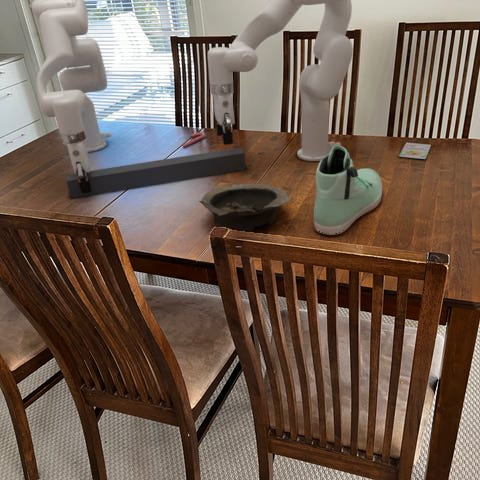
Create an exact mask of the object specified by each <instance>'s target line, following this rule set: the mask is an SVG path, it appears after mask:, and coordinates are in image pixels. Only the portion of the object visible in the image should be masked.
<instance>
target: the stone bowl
mask: <svg viewBox="0 0 480 480" xmlns="http://www.w3.org/2000/svg"><path fill="white" fill-rule="evenodd" d="M288 201H290V197H289V195H288V194H287V192H286V191H285V190H284V189H282V188H281V187H278V186H273V185H270V184H262V183H241V184H237V183H236V184H229V185H225V186H221V187H218V188H213V189H211V190H209V191H208V192H206V193H205V194H204V195H203V197H202V198H201V200H198V202H199V203H200V204H201V205H202V206H204V208H206V209H207V210H208V211H210V212H211V213H212V216H213V220H214V222H215V223H216V224H218V225H219V227H220V228H221V227H226V228H229V229H232V230H237V231H245V232H249V233H252V232H254V230H255V228H256V227H263V225H271V224H272V223H273V222H274V220H275V216H276V213H277V209H278V208H280V207H281V206H284V205H285V204H287V202H288Z"/></svg>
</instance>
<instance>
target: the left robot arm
mask: <svg viewBox="0 0 480 480" xmlns="http://www.w3.org/2000/svg"><path fill="white" fill-rule="evenodd" d="M31 10H32V13H33V15H34V17H35V18H36V20H37V21H38V22H39V28H40V33H41V39H42V43H43V50H44V56H45V61H44V63H43V64H42V65H41V67H40V69H39V71H38V73H37V76H36V81H35V82H36V83H35V87H36V93H37V100H38V104H39V108H40V111H41V113H42V114H43V116H45V117H47V118H55V121H56V124H57V129H58V131H59V135H60V138H61V139H60V140H61V142H62V144H63V146H64V145H65V146H66V147H67V151H68V155H69V159H70V163H71V167H72V169H73V172H74V173H75V174H77V175H78V179H79V185H80V188H81V192H82V193H89V192H92V190H91V186H90V182H89V180H88V178H87V173H86V172H88V173H89V172H90V171H92V162H91V159H90V156H89V153H91V152H96V151H100V150H102V149H104V148H105V147H106V146H107V141H106V139H108V138H110V137H112V133H111V132H110V131H108V132H101V130H100V127H99V122H98V118H97V113H96V109H95V105H94V102H93V101H92V99H91V98H89V96H87V95H86V94H88V93H97V92H103V91H105V90H106V89H107V88H108V78H107V74H106V69H105V65H104V60H103V55H102V52H101V51H102V50H101V48H100V46H99V43H98V42H97V40H95V39H94V38H91V37H86V38H77V37H80V36H85V35H87V33H88V31H89V15H88V7H87V4H86V1H85V0H33V1H32V3H31ZM58 73H59V76H58V77H59V83H60V86H61V88H62V90H58V91H49V92H48V84H49V81H50V80H51V79H52V78H53V77H54V76H55V75H57V74H58ZM83 174H85V176H83Z"/></svg>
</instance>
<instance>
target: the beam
mask: <svg viewBox="0 0 480 480" xmlns="http://www.w3.org/2000/svg"><path fill="white" fill-rule="evenodd" d="M246 169H247V168H246V155H245V151H244V150H243V149H242V148H241V147H235V148H229V149H228V148H227V149H222V150H215V151H209V152H201V153H197V154H190V155H182V156H176V157H171V158H170V157H169V158H165V159H158V160H157V159H156V160H152V161H145V162H139V163H138V162H137V163H132V164H125V165H120V166H119V165H118V166H114V167H106V168H101V169H94V170H91V171H90V172H89V173H88V172H86V173H87V178H88V180H89V182H90V186H91V190H92V192H89V193H82V192H81V188H80V185H79V179H78V175H77V174H75V172H74V173H68V174H67V175H66V185H67V188H68V192H69V195H70V199H76V198H82V197H88V196H94V195H102V194H106V193H113V192H119V191H124V190H130V189H136V188H137V189H138V188H142V187H149V186H155V185H161V184H167V183H173V182H179V181H186V180H191V179H197V178H203V177H209V176H216V175H221V174H222V175H223V174H227V173H234V172H240V171H245V170H246ZM83 176H85V174H83Z"/></svg>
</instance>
